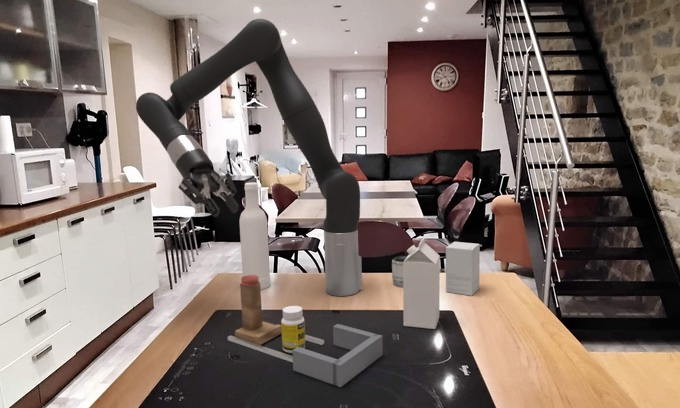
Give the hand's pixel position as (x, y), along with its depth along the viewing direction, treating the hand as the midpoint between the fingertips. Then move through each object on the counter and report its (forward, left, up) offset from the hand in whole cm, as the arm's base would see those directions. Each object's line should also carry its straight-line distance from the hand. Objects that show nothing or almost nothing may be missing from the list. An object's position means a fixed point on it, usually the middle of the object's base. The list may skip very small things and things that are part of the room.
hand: (227, 212), depth 108 cm
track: (-3, +16, -26) cm, 31 cm away
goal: (-8, +31, -26) cm, 42 cm away
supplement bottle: (-5, +21, -26) cm, 34 cm away
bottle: (-15, -21, -26) cm, 37 cm away
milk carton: (-34, +27, -26) cm, 51 cm away
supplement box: (-58, +18, -26) cm, 67 cm away
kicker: (-1, +11, -26) cm, 28 cm away
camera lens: (-49, +4, -26) cm, 56 cm away
